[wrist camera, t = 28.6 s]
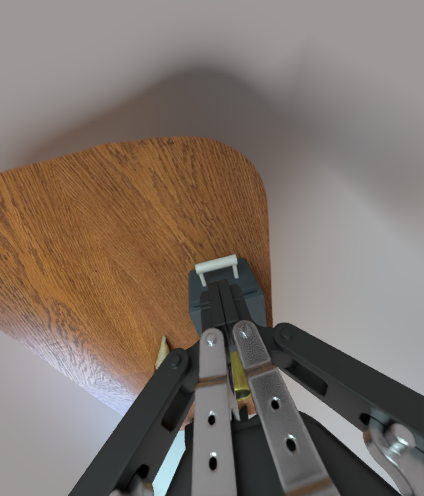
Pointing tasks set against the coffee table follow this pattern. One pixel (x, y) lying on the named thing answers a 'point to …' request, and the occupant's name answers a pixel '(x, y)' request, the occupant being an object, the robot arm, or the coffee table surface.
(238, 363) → the vase
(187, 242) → the coffee table surface
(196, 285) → the drawer
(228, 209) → the coffee table surface
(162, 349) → the ice cream cone
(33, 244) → the coffee table surface
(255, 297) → the cabinet
